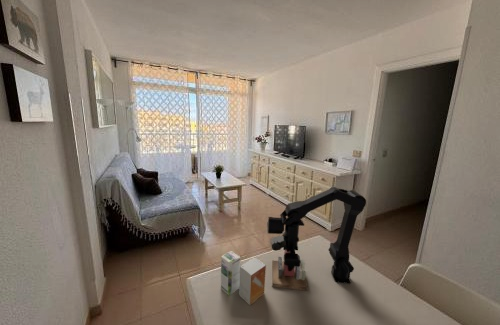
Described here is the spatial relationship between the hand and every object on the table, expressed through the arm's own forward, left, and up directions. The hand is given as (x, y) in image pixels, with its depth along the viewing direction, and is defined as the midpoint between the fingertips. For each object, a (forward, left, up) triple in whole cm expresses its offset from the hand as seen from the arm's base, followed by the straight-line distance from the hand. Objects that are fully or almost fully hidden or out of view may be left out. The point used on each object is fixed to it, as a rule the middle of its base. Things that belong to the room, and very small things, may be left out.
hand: (289, 265), depth 89 cm
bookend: (+4, 0, -4) cm, 5 cm away
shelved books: (-5, 0, -3) cm, 6 cm away
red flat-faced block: (0, 0, -2) cm, 3 cm away
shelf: (0, 0, -5) cm, 5 cm away
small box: (+15, +12, -5) cm, 20 cm away
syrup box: (+24, +10, -5) cm, 27 cm away
